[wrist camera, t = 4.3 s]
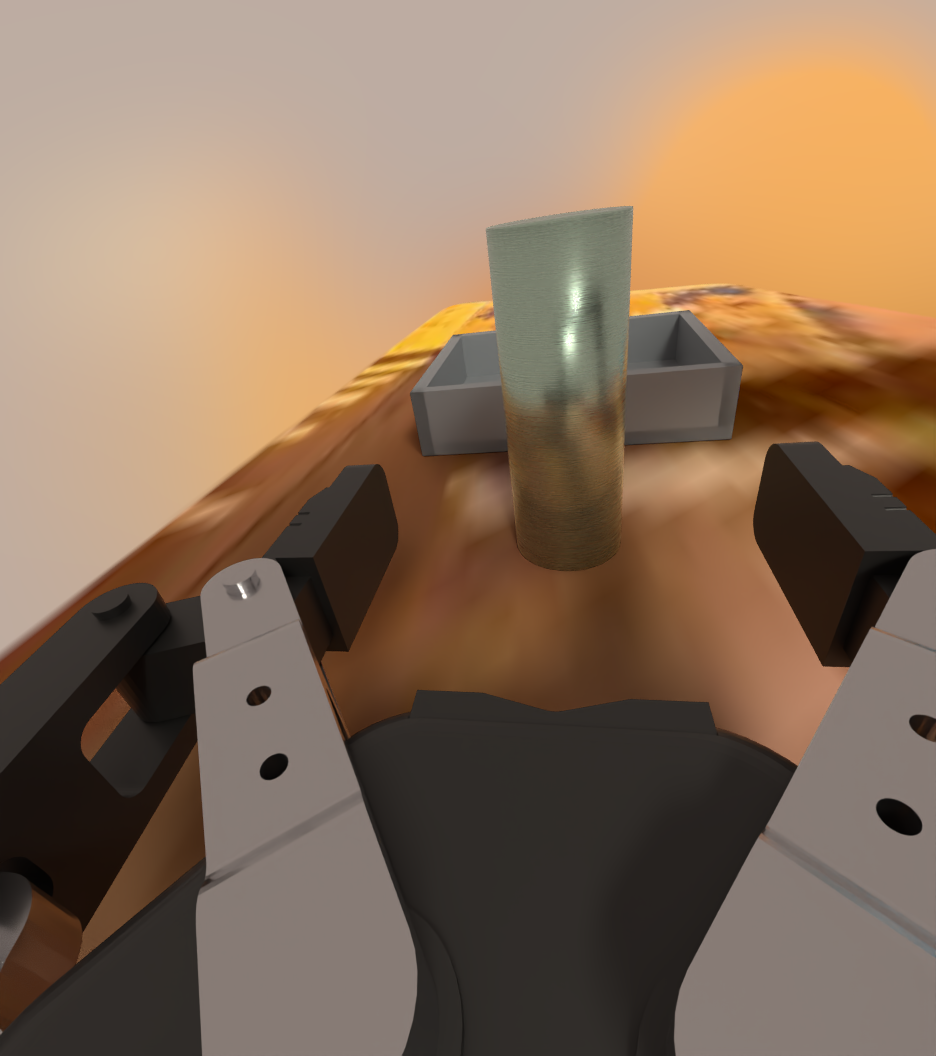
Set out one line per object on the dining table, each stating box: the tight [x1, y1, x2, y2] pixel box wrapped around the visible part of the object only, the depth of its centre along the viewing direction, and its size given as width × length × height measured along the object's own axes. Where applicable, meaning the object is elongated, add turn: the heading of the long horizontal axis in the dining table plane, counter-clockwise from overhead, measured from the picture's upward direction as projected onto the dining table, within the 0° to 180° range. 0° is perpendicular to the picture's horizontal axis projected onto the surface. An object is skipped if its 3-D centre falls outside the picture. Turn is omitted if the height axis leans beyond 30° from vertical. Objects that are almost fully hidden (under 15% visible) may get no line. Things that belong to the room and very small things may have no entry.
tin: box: [486, 206, 633, 571], centre depth 19 cm, size 4×4×12 cm
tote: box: [410, 310, 743, 456], centre depth 34 cm, size 18×14×4 cm
